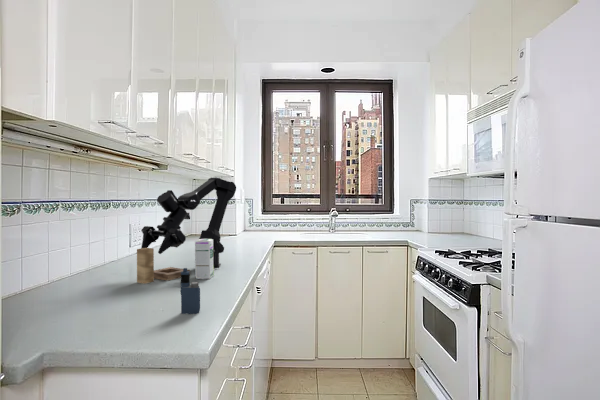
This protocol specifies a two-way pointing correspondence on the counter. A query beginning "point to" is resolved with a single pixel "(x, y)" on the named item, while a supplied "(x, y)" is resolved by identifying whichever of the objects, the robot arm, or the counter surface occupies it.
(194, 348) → the counter surface
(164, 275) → the socket
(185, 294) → the vaping device
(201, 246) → the syrup box
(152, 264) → the peg
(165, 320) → the counter surface
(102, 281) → the counter surface
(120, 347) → the counter surface
